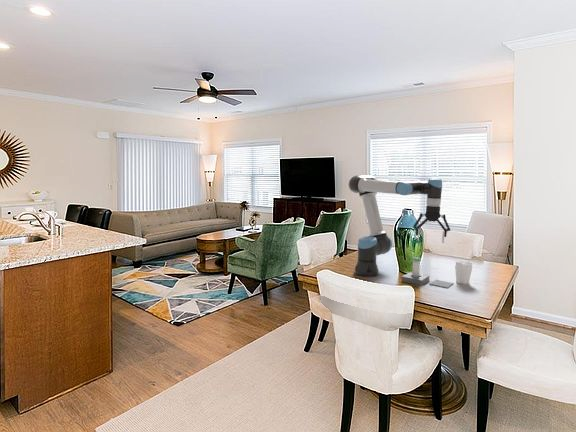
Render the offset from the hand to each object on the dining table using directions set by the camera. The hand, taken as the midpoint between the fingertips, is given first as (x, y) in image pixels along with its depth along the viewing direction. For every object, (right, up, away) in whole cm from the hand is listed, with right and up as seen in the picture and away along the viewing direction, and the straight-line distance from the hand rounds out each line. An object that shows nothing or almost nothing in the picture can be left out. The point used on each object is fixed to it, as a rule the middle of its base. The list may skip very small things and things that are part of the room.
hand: (430, 241), depth 213 cm
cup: (+20, -25, +3) cm, 32 cm away
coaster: (+6, -25, -1) cm, 26 cm away
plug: (-7, -24, +6) cm, 26 cm away
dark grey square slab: (-7, -24, +6) cm, 26 cm away
